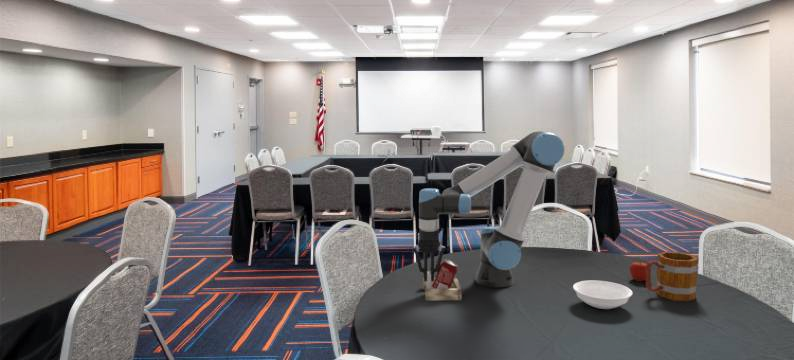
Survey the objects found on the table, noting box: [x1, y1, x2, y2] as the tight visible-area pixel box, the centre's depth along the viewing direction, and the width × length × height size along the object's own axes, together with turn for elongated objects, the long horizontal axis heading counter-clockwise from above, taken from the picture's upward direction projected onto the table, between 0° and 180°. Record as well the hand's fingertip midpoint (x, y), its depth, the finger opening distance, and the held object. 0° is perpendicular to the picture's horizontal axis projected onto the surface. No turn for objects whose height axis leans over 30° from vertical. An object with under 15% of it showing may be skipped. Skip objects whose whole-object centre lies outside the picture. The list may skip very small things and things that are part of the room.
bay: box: [422, 277, 463, 302], centre depth 197 cm, size 14×14×4 cm
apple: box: [629, 261, 652, 282], centre depth 210 cm, size 8×8×8 cm
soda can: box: [431, 259, 459, 289], centre depth 196 cm, size 7×7×12 cm
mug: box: [645, 251, 699, 302], centre depth 192 cm, size 20×14×15 cm
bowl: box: [572, 279, 633, 310], centre depth 183 cm, size 20×20×6 cm
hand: (428, 289), depth 197 cm, fingers closed
